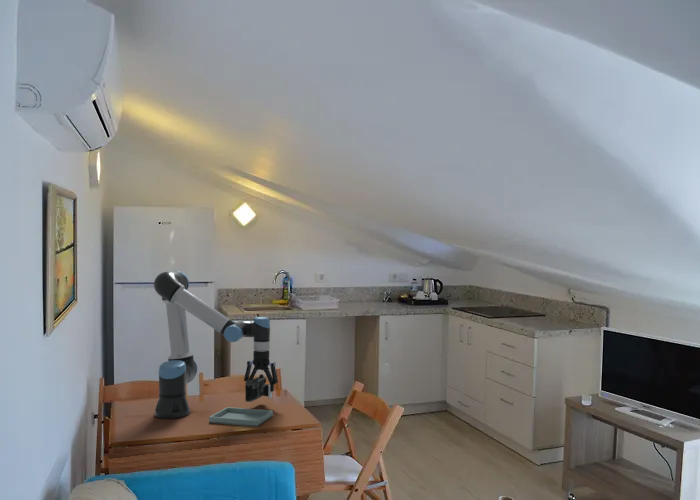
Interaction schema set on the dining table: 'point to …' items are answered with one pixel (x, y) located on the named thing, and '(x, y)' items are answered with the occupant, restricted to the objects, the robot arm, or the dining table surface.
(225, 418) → the storage tray
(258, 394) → the camera
